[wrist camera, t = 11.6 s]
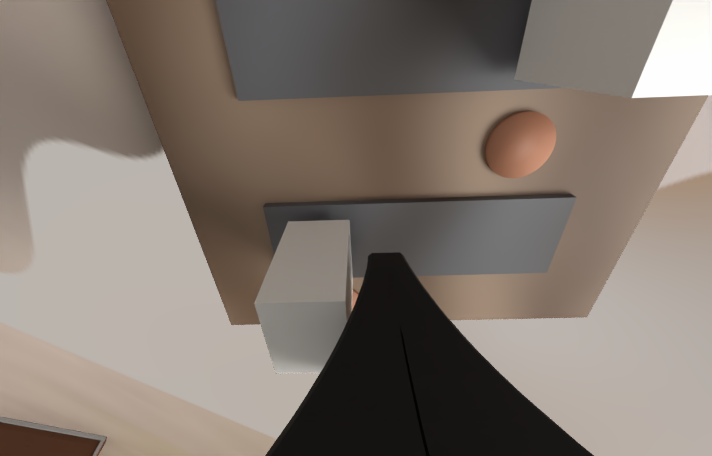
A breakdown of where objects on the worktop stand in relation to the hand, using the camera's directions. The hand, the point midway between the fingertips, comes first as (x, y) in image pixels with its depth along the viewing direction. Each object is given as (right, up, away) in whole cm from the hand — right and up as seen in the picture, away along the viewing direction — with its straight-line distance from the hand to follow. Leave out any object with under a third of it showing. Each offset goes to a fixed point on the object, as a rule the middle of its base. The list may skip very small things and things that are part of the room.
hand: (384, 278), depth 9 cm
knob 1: (-2, +1, +1) cm, 3 cm away
